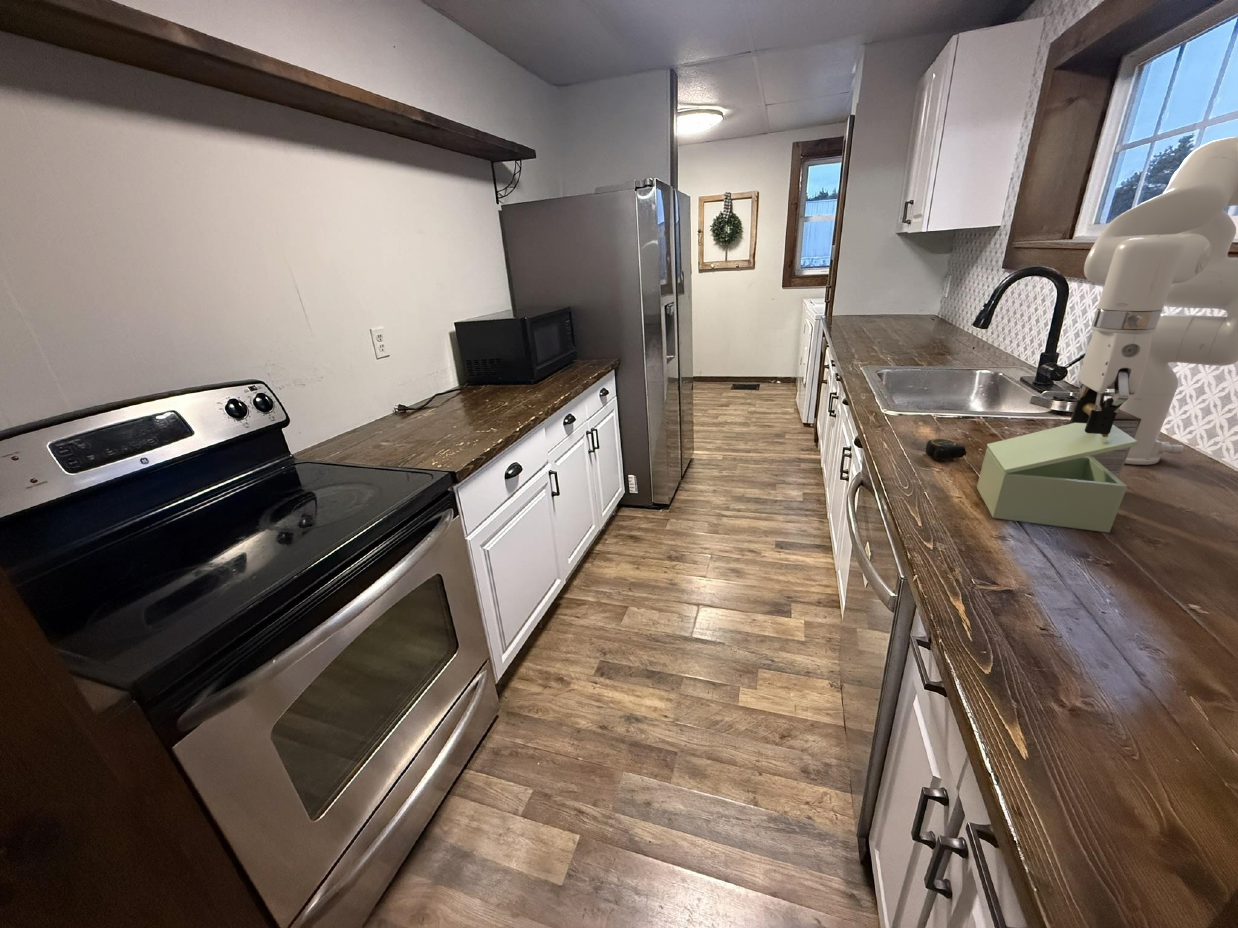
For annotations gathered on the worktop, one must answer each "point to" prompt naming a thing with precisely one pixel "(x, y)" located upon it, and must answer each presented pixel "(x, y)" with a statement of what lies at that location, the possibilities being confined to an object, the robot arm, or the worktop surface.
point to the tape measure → (944, 449)
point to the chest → (1053, 493)
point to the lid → (1057, 445)
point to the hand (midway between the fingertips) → (1089, 426)
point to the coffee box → (1117, 457)
